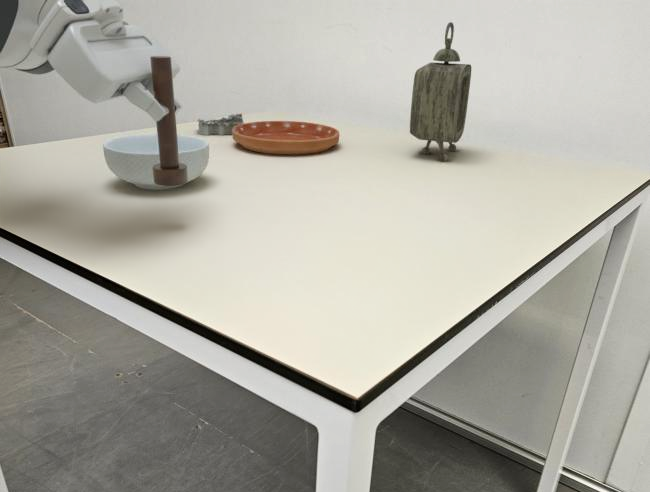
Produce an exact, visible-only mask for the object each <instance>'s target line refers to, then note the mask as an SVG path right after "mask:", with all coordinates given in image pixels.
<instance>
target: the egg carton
mask: <svg viewBox="0 0 650 492" xmlns="http://www.w3.org/2000/svg"><path fill="white" fill-rule="evenodd" d="M197 122H198V134H199V135H203V136H210V135H218V136H224V135H232V129H233V128H234V127H235V126H237V125H241V124H245V121H244V118H243V114H242V113H235V114H234V113H232V114H230V115H229V116H228V117H222V118H218V119H216V118H213V119H208V120H204V119H201V118H198V119H197Z"/></svg>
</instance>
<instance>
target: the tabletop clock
mask: <svg viewBox="0 0 650 492" xmlns="http://www.w3.org/2000/svg"><path fill="white" fill-rule="evenodd" d="M449 31H450V37H449V38H448V35H449ZM454 32H455V27H454V23H453V22H452V21H450V22H448V23H447V25H446V28H445V34H444V46H445V48H441V49H439V50H438V51H437V52H436V53H435V55H434V57H433V59H432V60H433V61H435V62H428V63H426V64H425V65H423V66H421V67H419V68H418V69H417V70H416V71H415V72H414V77H413V84H412V85H413V86H412V95H411V104H410V120H409V134H410V135H411V136H413V137H414V138H416V139H417V140H419V141H426V144H425V145H426V146H425V147H423V148H422V149H421V154H422V155H429V153H430V151H431V150H430V148H429V147H430V145H431V143H432V142H435V143H436V144H437V145H438V147H439V151H440V155H439V161H440V162H447V161H448V158H449V157H448V155H447V154H446V153H445V151H444V143H448V144H449V145H448V151H449V152H455V151H456V150H457V145H456V144H457V143H458V142H459V141H460V139H462V136H463V133H464V131H465V126H466V125H465V124H466V118H467V112H468V105H469V97H470V88H471V81H472V80H471V78H472V65H471V64H470V63H469V64H467V63H457V62H461V58H460V55H459V53H458V51H457V50H455V49H453V48H452V44H453V40H454V34H455V33H454ZM450 62H452V63H450Z"/></svg>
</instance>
